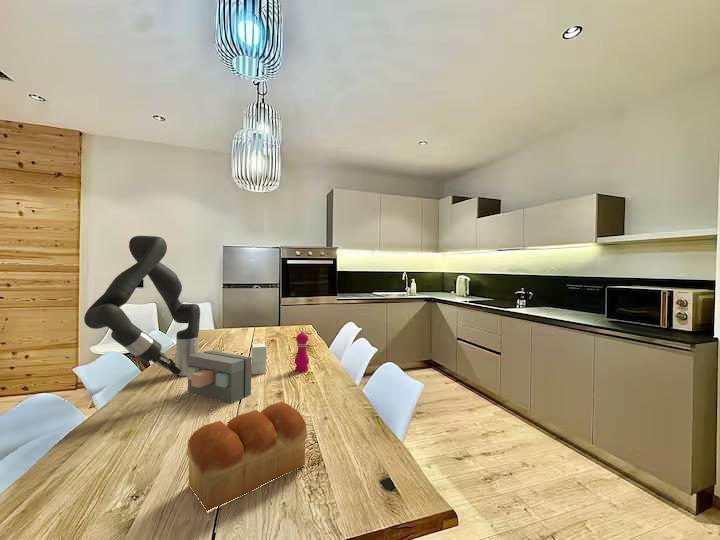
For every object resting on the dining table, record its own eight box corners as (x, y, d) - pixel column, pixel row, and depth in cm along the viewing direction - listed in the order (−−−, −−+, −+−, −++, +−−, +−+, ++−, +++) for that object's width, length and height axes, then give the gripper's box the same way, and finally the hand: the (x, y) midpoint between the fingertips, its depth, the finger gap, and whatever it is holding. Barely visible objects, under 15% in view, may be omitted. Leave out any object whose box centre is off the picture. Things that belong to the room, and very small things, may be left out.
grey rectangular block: (215, 385, 123) (215, 373, 123) (232, 379, 130) (232, 368, 130) (224, 387, 121) (224, 375, 121) (240, 381, 128) (240, 369, 128)
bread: (205, 516, 66) (206, 444, 66) (186, 487, 75) (187, 423, 75) (307, 466, 84) (307, 408, 84) (281, 446, 93) (282, 394, 93)
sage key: (187, 378, 130) (187, 367, 130) (204, 373, 137) (204, 362, 137) (194, 380, 128) (194, 369, 128) (211, 374, 135) (212, 364, 135)
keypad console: (187, 392, 132) (188, 355, 132) (208, 384, 141) (209, 350, 141) (231, 403, 122) (231, 363, 122) (250, 394, 131) (251, 357, 131)
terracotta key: (191, 385, 122) (191, 373, 122) (209, 379, 129) (209, 368, 129) (199, 387, 120) (199, 375, 120) (217, 381, 128) (217, 369, 128)
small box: (266, 373, 157) (266, 346, 157) (252, 374, 155) (252, 347, 155) (264, 368, 165) (265, 343, 165) (251, 370, 163) (252, 343, 163)
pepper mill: (310, 368, 167) (311, 329, 167) (306, 372, 160) (307, 331, 160) (296, 367, 167) (297, 328, 167) (292, 372, 160) (293, 331, 160)
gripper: (159, 339, 112) (194, 367, 122) (143, 335, 120) (177, 361, 130) (142, 358, 108) (179, 385, 118) (126, 352, 116) (162, 378, 126)
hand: (178, 372), depth 124 cm, fingers closed
